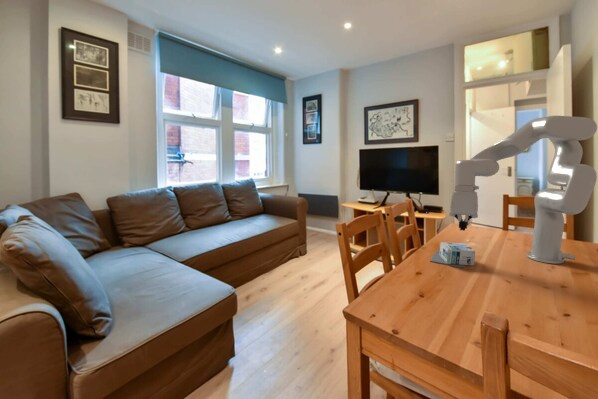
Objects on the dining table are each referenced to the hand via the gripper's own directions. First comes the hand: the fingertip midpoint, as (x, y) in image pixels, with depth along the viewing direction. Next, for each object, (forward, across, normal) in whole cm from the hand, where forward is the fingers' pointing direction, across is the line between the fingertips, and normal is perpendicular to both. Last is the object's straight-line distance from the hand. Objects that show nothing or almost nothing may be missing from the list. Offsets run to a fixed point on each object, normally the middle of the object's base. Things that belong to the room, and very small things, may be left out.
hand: (462, 229), depth 121 cm
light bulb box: (+10, -3, +2) cm, 11 cm away
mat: (+14, +4, +1) cm, 14 cm away
